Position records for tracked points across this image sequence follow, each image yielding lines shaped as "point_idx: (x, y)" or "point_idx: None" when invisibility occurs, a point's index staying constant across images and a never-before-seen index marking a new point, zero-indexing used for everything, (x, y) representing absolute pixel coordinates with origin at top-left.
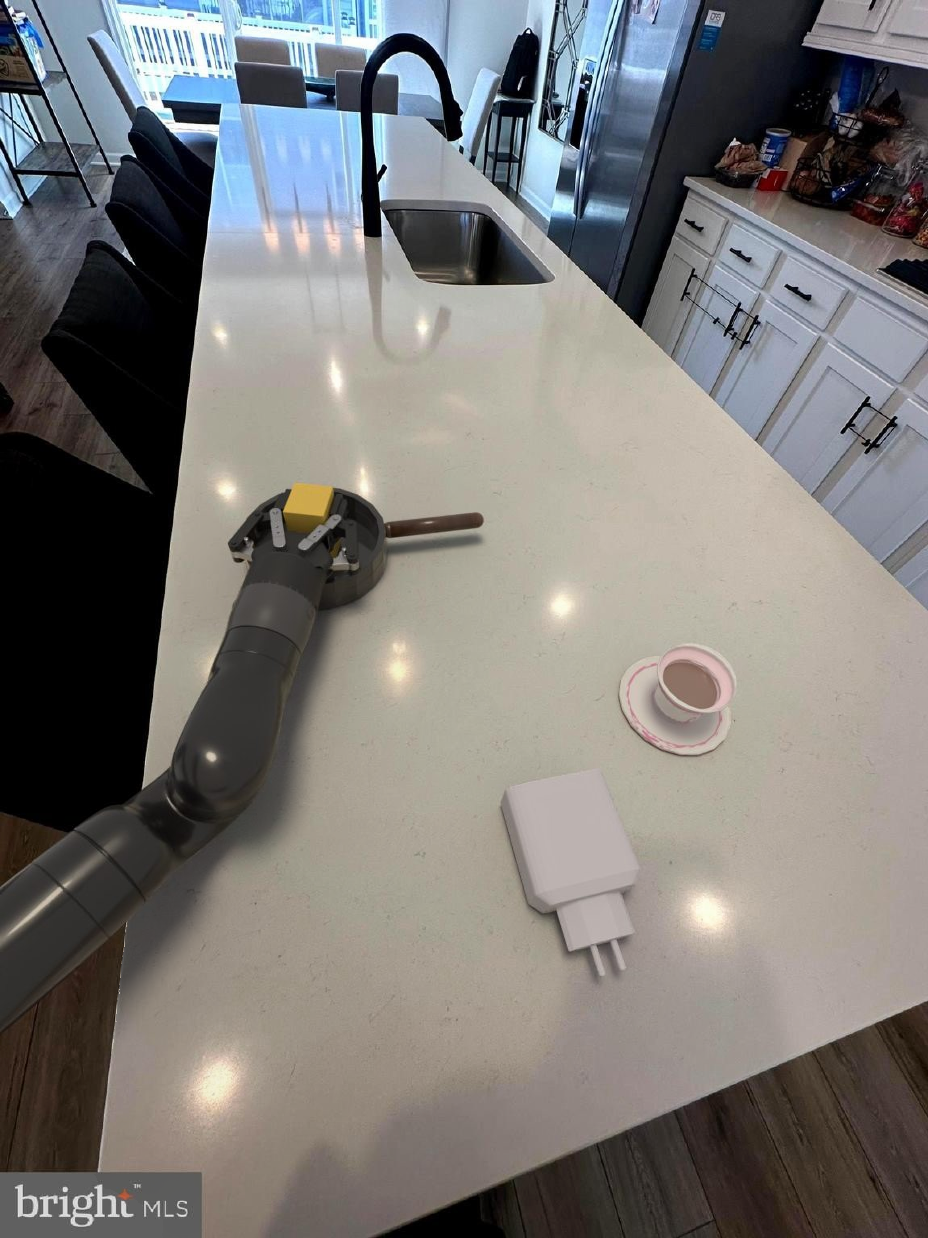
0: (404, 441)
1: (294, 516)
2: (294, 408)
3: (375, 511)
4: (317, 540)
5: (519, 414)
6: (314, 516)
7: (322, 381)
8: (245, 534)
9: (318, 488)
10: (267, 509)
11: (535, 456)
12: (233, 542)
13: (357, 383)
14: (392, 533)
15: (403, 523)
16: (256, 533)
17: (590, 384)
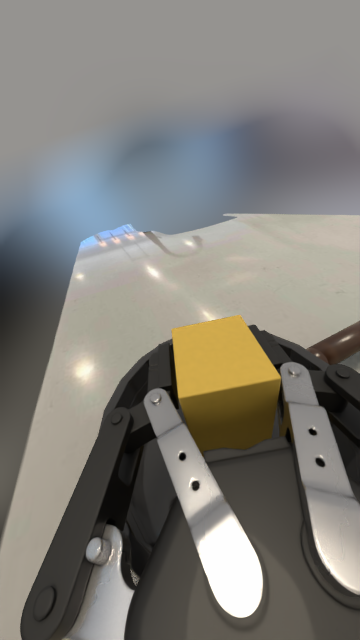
0: (222, 285)
1: (207, 400)
2: (131, 293)
3: (280, 339)
4: (347, 481)
5: (284, 251)
6: (258, 385)
7: (145, 275)
8: (91, 521)
9: (218, 324)
10: (132, 384)
11: (330, 263)
12: (42, 611)
13: (167, 270)
14: (330, 363)
15: (336, 343)
16: (124, 464)
17: (306, 230)
